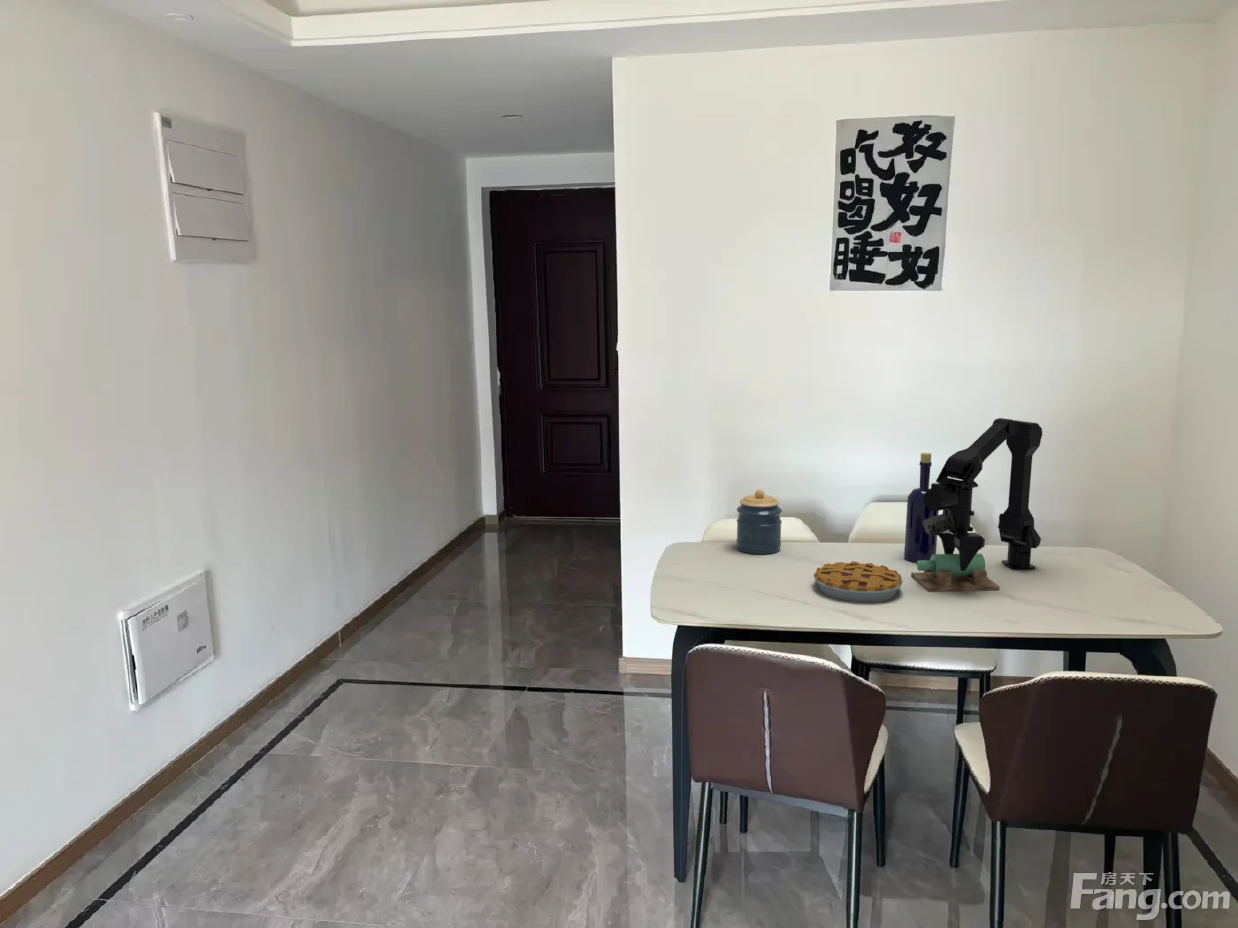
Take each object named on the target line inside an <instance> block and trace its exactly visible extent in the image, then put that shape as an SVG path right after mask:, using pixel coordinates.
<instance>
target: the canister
mask: <svg viewBox="0 0 1238 928" xmlns="http://www.w3.org/2000/svg"><path fill="white" fill-rule="evenodd" d="M739 503H740V505H739V506H737V508H736V511H737V513H738V516H737V519H736V526H737V528H736V542H735V543H736V544H735V545H736V547H737V549H738V551H740V552H743V553H745V554H751V555H771V554H775V553H777V552H779V551H780V550H781V546H782V540H781V539H782V537H781V535H782V534H781V533H782V523H783V521H782V520H781V514H782V512H783V509H782V508H781V507H779V504H780V501H779V500H778V499H776V498H775V497H774V496H772V495H768V494H765V492H764V491H763V490H762V489H757V490H755V492H754V494H749V495H746V496H744V497H743V498H741V499H740V500H739Z"/></svg>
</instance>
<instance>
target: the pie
mask: <svg viewBox="0 0 1238 928" xmlns="http://www.w3.org/2000/svg"><path fill="white" fill-rule="evenodd" d="M813 579H814V580H815V582H816V583H818V586H819V589H820V590H821V592H822V593H823V592H824V593H823V594H825V595H826V596H828V597H832V598H834V597H835V599H839V600H842V601H843V600H844V601H845V600H846V601H852V602H862V603H863V602H865V603H866V602H868V603H870V602H871V603H874V602H881V601H882V602H883V601H887V600H890V599H892V598H893V597H894V596H895V594H896V592H897V591H898V590H899V589H901V587H902V585H903V583H904V580H903V579H902V575H901V574H900V573H898V571H897V570H893V569H889V567H887V565H886V566H885V565H883V564H881V565H875V564H873V563H870V562H869V563H868V562H867V563H860V562H858V561H853V560H852V561H851V562H843V561H840V562H838V561H837V562H835V563H833V564H831V563H824V564H823V566H822V567H817V568H816V571H815V572H814V574H813Z"/></svg>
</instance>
